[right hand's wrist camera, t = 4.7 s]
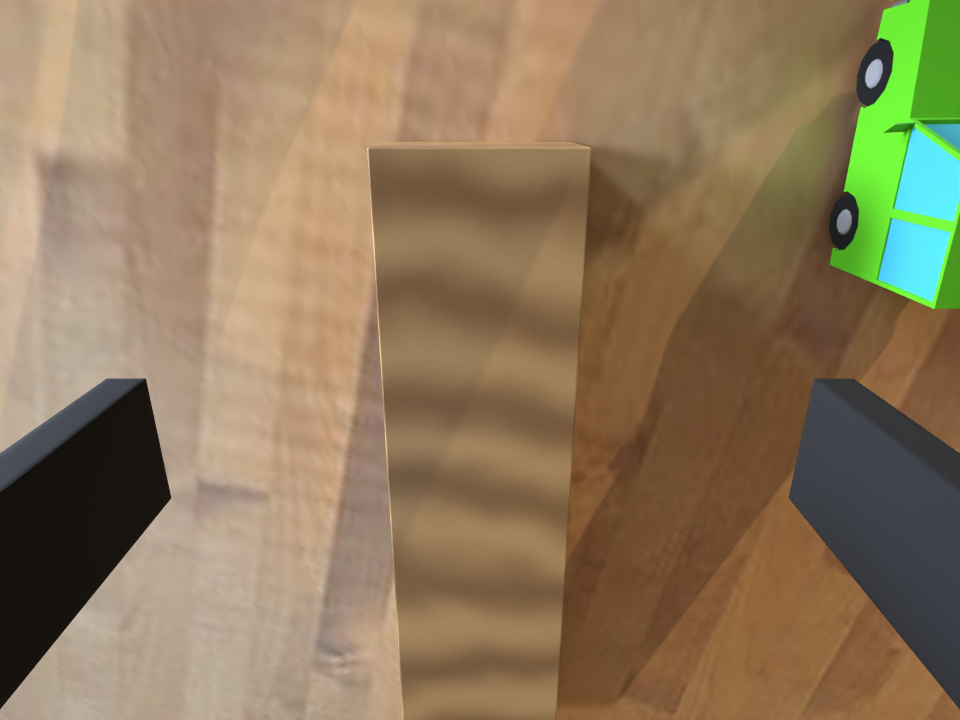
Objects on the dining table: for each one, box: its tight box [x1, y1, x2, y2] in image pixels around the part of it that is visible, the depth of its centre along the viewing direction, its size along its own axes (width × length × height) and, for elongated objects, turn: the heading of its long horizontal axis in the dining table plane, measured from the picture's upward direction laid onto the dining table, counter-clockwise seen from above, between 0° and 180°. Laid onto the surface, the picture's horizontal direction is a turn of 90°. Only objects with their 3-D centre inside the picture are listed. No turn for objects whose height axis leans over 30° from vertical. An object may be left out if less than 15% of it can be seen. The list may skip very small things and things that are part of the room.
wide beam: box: [367, 142, 592, 720], centre depth 44 cm, size 72×10×7 cm, turn 0°
